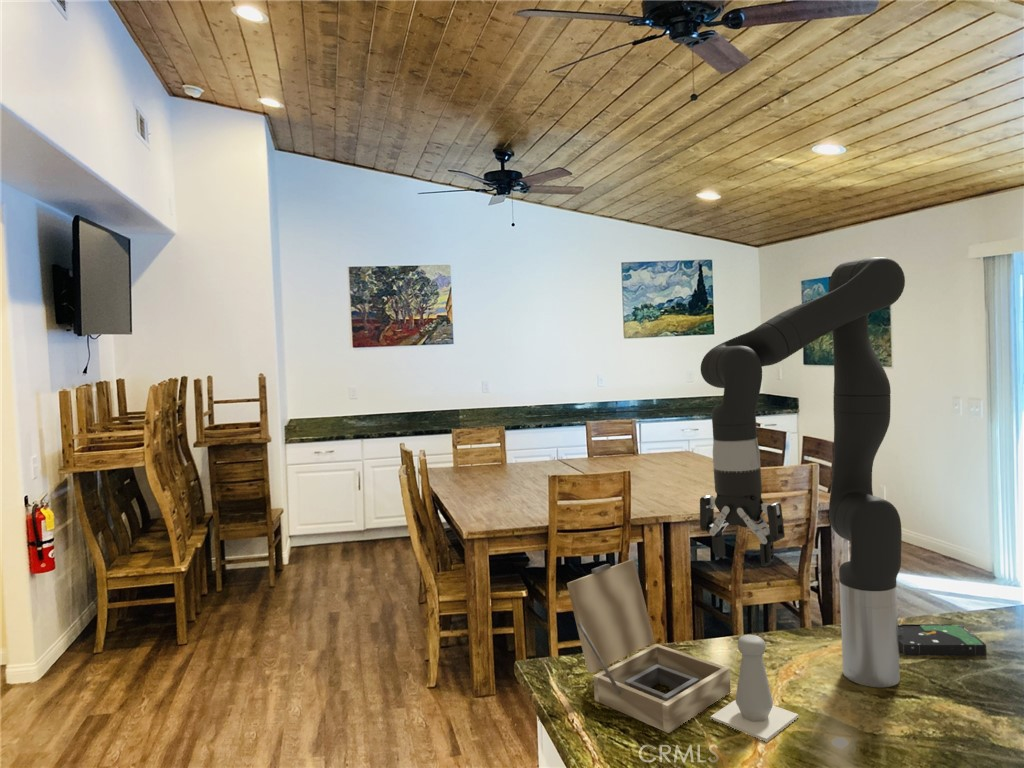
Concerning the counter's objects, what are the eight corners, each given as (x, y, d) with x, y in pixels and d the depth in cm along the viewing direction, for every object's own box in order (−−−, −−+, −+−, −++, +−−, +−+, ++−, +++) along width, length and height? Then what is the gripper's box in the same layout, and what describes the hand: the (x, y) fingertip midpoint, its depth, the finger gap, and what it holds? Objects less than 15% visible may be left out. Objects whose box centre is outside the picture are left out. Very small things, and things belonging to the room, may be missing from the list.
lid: (655, 641, 138) (650, 641, 139) (633, 555, 140) (628, 555, 141) (592, 673, 126) (587, 673, 127) (569, 578, 128) (565, 578, 129)
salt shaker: (778, 724, 114) (775, 644, 113) (742, 725, 114) (738, 646, 113) (766, 705, 119) (762, 629, 119) (732, 707, 120) (728, 631, 119)
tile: (743, 697, 124) (743, 694, 124) (798, 717, 116) (798, 714, 116) (710, 719, 117) (710, 716, 117) (766, 742, 110) (766, 738, 110)
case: (647, 662, 139) (644, 593, 139) (730, 693, 126) (727, 616, 125) (580, 698, 127) (576, 622, 126) (664, 736, 113) (660, 651, 112)
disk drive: (904, 659, 136) (988, 658, 134) (903, 645, 136) (987, 643, 134) (884, 637, 146) (961, 636, 144) (883, 623, 146) (961, 622, 144)
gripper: (788, 464, 116) (794, 562, 117) (711, 459, 126) (717, 548, 127) (765, 472, 111) (771, 574, 112) (687, 466, 121) (693, 559, 122)
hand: (742, 560), depth 119 cm, fingers open, 8 cm apart
